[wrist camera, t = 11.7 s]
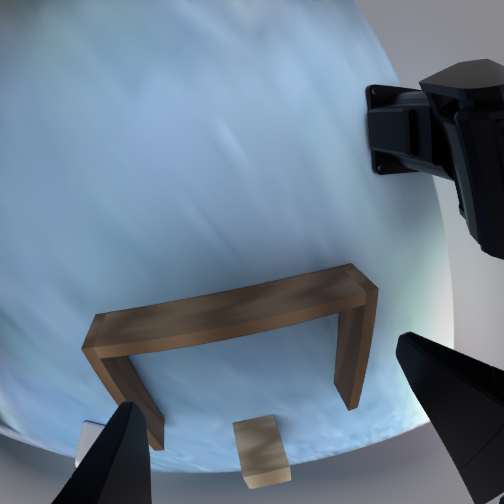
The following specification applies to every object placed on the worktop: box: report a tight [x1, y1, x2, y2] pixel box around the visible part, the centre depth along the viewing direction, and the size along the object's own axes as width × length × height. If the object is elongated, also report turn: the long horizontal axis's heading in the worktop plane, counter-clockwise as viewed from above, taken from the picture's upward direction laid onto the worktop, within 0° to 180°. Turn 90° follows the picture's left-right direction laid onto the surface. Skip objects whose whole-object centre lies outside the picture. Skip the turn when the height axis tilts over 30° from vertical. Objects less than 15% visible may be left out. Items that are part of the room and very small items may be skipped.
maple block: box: [233, 414, 291, 489], centre depth 25 cm, size 4×4×7 cm
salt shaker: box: [75, 422, 105, 468], centre depth 21 cm, size 4×4×10 cm
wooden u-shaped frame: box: [81, 263, 379, 451], centre depth 21 cm, size 20×14×4 cm
